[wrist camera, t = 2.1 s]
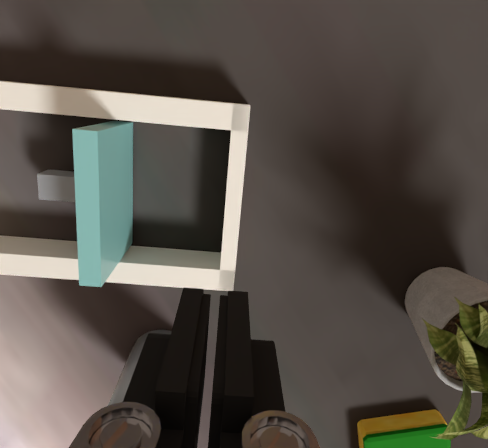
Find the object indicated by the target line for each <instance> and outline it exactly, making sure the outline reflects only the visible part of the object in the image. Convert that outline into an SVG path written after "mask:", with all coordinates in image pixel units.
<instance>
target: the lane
mask: <svg viewBox="0 0 488 448" xmlns="http://www.w3.org/2000/svg"><path fill="white" fill-rule="evenodd" d="M0 109H6V110H17V111H27V112H38V113H49V114H60V115H71V116H81V117H92V118H103V119H114V120H124V121H135V122H146V123H157V124H168V125H178V126H189V127H200V128H211V129H222V130H231V137H230V150H229V162H228V175H227V187H226V200H225V212H224V225H223V238H222V250H221V252H208V251H195V250H183V249H170V248H157V247H144V246H130V247H129V249H128V250H127V251H126V253H125V254H124V256H123V257H122V259H121V260H120V261H119V263H118V264H117V266H116V267H115V268H114V270H113V271H112V273H111V274H110V276H109V277H108V278H107V280H106V281H105V282H112V283H125V284H139V285H153V286H167V287H180V288H184V287H185V288H198V289H208V290H222V291H233V288H234V277H235V266H236V255H237V245H238V234H239V223H240V213H241V202H242V191H243V180H244V170H245V159H246V148H247V137H248V127H249V116H250V105H249V104H239V103H229V102H219V101H208V100H198V99H187V98H177V97H167V96H156V95H146V94H135V93H125V92H114V91H104V90H94V89H83V88H73V87H62V86H52V85H42V84H31V83H21V82H10V81H0ZM0 274H2V275H15V276H29V277H43V278H57V279H70V280H79V269H78V246H77V241H66V240H54V239H41V238H28V237H15V236H2V235H0Z"/></svg>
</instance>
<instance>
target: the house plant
mask: <svg viewBox="0 0 488 448" xmlns="http://www.w3.org/2000/svg"><path fill="white" fill-rule="evenodd" d="M405 307H406V311H407V313H408V315H409V317H410V319H411V321H412V324H413V326H414V328H415V330H416V332H417V334H418V337H419V339H420V341H421V343H422V345H423V347H424V350H425V352H426V354H427V356H428V358H429V360H430V363H431V365H432V367H433V369H434V371H435V373H436V374H437V376H438V377H439V378H440V379H441V380H442V381H443V382H444V383H445V384H447V385H449V386H451V387H453V388H455V389H457V390H461V391H463V394H462V397H461V400H460V403H459V405H458V407H457V410H456V412H455V414H454V416H453V418H452V419H451V421H450V423H449V425H448V426H447V428H446V430H445V431H444V433H442V434H437V435H439V436H437V437H432V438H436V439H447V440H451V439H453V438H455V437H457V436H458V435H462V434H467V433H470V432H471V433H472V434H473V435H475V436H477V437H480V438H483V439H488V426H487V427H485V428H483V429H481V430H479V431H476V430H478V429H480V428H482V427H484V426H486V425H487V424H488V284H487V283H485V282H482V281H480V280H478V279H476V278H474V277H472V276H470V275H467V274H465V273H463V272H461V271H459V270H457V269H453V268H449V267H438V268H434V269H430V270H428V271H426V272H424V273H422V274H421V275H419V276H418V277H417V278H416V279H414V281H413V282H412V283H411V285H410V286H409V288H408V290H407V292H406V296H405ZM474 392H483V393H482V411H481V417H480V418H479V420H478V421H477V423H475V424H474V425H473V426H471V427H469V428H467V429H465V430H464V428H465V426H466V424H467V421H468V417H469V413H470V407H471V393H474ZM474 431H475V432H474Z"/></svg>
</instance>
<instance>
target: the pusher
mask: <svg viewBox="0 0 488 448" xmlns="http://www.w3.org/2000/svg"><path fill="white" fill-rule="evenodd" d="M72 133H73V156H74V172H73V171H62V170H50V169H49V170H46V171H44V172H41V173H39V174H37V179H38V192H39V199H41V200H53V201H65V202H76V224H77V246H78V269H79V286H93V287H102V285H103V284H104V283H105V281H106V280H107V278H108V277H109V276H110V274H111V273H112V271H113V270H114V268H115V267H116V266H117V264H118V263H119V261H120V260H121V259H122V257H123V256H124V254H125V253H126V251H127V250H128V249H129V247H130V246H131V244H132V243H133V122H123V121H110V122H105V123H100V124H95V125H90V126H85V127H80V128H75V129H72Z"/></svg>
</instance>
